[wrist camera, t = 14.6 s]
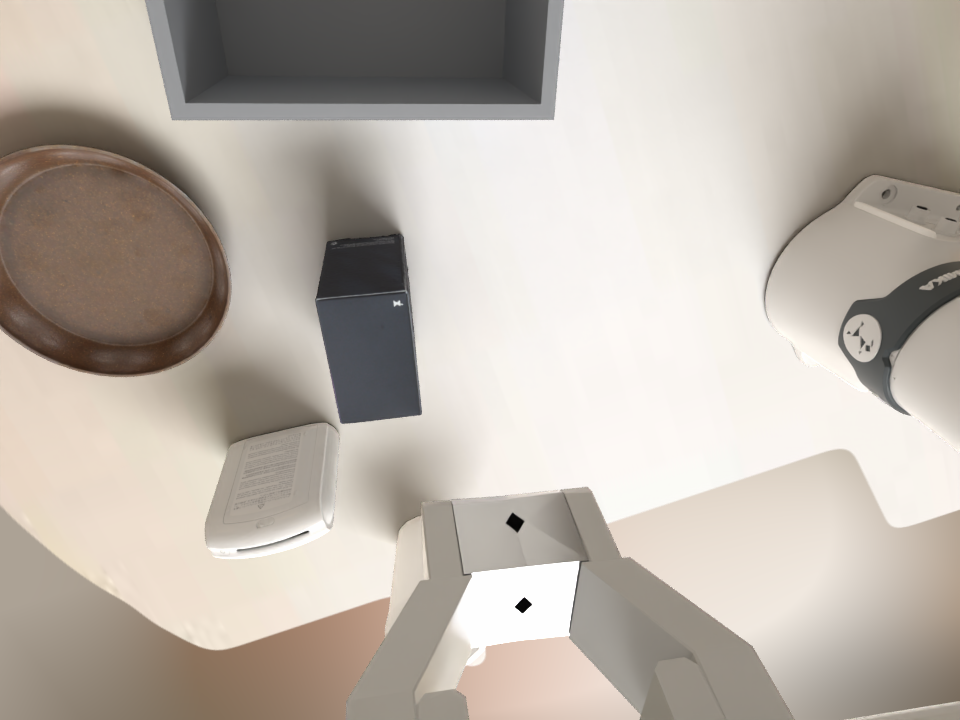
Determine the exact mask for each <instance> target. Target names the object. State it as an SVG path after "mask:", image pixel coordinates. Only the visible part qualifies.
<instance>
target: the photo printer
mask: <svg viewBox="0 0 960 720" xmlns="http://www.w3.org/2000/svg"><path fill="white" fill-rule="evenodd" d="M339 443H340V438H339V434H338V432H337V431H336V429H335V428H334V427H332V426H331V425H328V423H315V424H309V425H304V426H299V427H295V428H290V429H286V430H281V431H277V432H273V433H269V434H264V435H260V436H256V437H252V438H248V439H245V440H241V441H238V442H236V443H234V444H232V445H231V446H230V447H229V449H228V452H227V455H226V459H225V462H224V465H223V468H222V471H221V475H220V478H219V481H218V484H217V487H216V490H215V494H214V497H213V500H212V503H211V506H210V509H209V512H208V515H207V519H206V522H205V541H206V546H207V548H208V549H210V550H211V552H212V555H213V556H214V557H216V558H224V559H244V558H253V557H260V556H265V555H270V554H274V553H278V552H282V551H285V550H288V549H292V548H295V547H297V546H300V545H303V544H305V543H308V542H310V541H312V540H314V539H316V538H318V537H320V536H322V535H324V534H325V533H327V532H328V531H330V530H331V529H332V526H333V520H334V508H335V496H336V484H337V472H338V458H339Z"/></svg>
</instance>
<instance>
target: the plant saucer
mask: <svg viewBox="0 0 960 720" xmlns="http://www.w3.org/2000/svg"><path fill="white" fill-rule="evenodd" d="M230 299H231V274H230V268H229V264H228V260H227V256H226V254H225V251H224V248H223V246H222V243H221V241H220V239H219V237H218V235H217V233H216V231H215V230H214V228H213V226H212V225H211V223H210V222H209V221H208V219H207V218H206V217H205V215H204V214H203V213H202V211H201V210H200V209H199V208H198V207H197V205H196V204H195V203H194V202H193V201H192V200H191V199H190V198H189V197H188V196H187V195H186V194H185V193H184V192H182V191H181V190H180V189H179V188H178V187H176V186H175V185H174V184H172V183H171V182H170V181H168V180H167V179H166V178H164V177H163V176H161V175H159V174H158V173H156V172H155V171H153V170H151V169H150V168H148V167H146V166H144V165H142V164H140V163H138V162H136V161H134V160H131V159H129V158H127V157H124V156H121V155H118V154H115V153H112V152H108V151H104V150H100V149H96V148H91V147H85V146H78V145H43V146H36V147H31V148H27V149H22V150H19V151H16V152H13V153H11V154H9V155H6V156H4V157H2V158H0V329H1V330H2V331H3V332H4V333H5V334H7V335H8V336H9V337H10V338H12V339H13V340H14V341H16V342H17V343H18V344H20V345H22V346H23V347H24V348H26V349H28V350H29V351H31V352H33V353H35V354H36V355H38V356H40V357H42V358H44V359H46V360H48V361H50V362H53V363H55V364H58V365H60V366H64V367H67V368H69V369H73V370H76V371H79V372H84V373H89V374H94V375H99V376H110V377H135V376H144V375H150V374H155V373H159V372H162V371H166V370H169V369H171V368H174V367H176V366H179V365H181V364H183V363H185V362H187V361H188V360H190V359H191V358H193V357H194V356H196V355H197V354H198V353H200V352H201V351H202V350H203V349H204V348H205V347H207V346H208V345H209V343H210V342H211V341H212V340H213V339H214V337H215V336H216V335H217V334H218V332H219V330H220V329H221V327H222V325H223V323H224V321H225V318H226V316H227V312H228V309H229V305H230Z"/></svg>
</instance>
